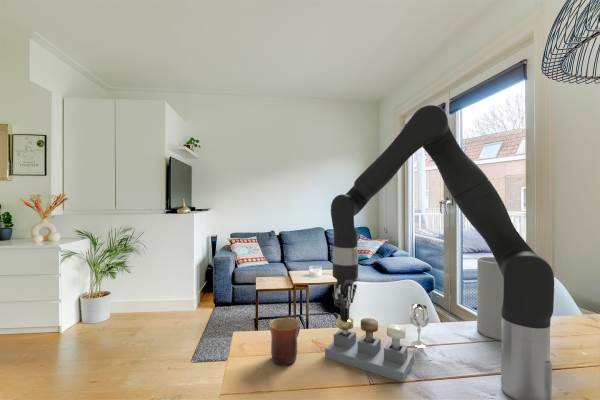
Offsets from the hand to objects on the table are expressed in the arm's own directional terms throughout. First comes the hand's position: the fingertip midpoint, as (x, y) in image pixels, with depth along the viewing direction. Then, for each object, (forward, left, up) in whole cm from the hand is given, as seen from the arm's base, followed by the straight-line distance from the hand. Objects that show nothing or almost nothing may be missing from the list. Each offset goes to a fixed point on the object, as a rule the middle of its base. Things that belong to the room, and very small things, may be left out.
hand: (344, 319), depth 91 cm
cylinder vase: (-39, -40, -10) cm, 56 cm away
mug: (+12, +12, -10) cm, 20 cm away
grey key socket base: (-8, 0, -10) cm, 12 cm away
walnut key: (-8, 0, -5) cm, 9 cm away
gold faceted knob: (0, 0, -6) cm, 6 cm away
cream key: (-15, 0, -5) cm, 16 cm away
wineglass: (-18, -17, -10) cm, 26 cm away
